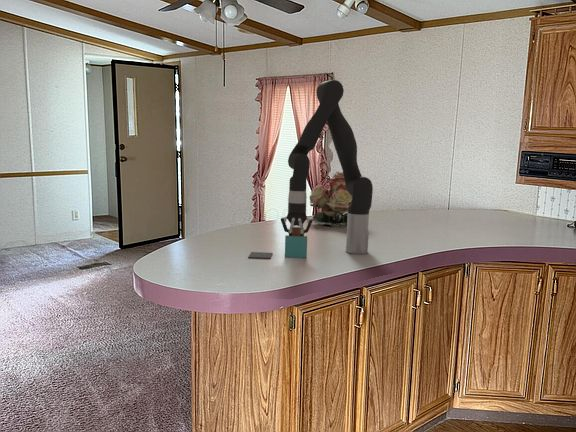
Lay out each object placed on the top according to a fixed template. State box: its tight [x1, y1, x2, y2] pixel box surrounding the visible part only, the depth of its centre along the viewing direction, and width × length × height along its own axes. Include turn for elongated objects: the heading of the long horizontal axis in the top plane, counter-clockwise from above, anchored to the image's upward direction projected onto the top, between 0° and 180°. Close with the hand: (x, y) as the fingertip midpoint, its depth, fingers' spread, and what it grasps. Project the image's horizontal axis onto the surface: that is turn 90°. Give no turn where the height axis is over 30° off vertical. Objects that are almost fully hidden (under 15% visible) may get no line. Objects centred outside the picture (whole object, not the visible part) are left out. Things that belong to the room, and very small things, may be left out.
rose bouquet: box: [308, 171, 352, 228], centre depth 302 cm, size 26×29×30 cm
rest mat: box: [248, 251, 273, 260], centre depth 219 cm, size 9×9×1 cm
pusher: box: [292, 225, 301, 236], centre depth 221 cm, size 4×4×8 cm
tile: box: [284, 234, 308, 259], centre depth 218 cm, size 9×2×9 cm, turn 86°
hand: (296, 241), depth 221 cm, fingers closed on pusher, 3 cm apart
